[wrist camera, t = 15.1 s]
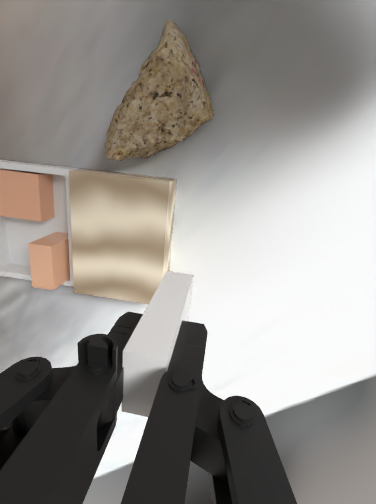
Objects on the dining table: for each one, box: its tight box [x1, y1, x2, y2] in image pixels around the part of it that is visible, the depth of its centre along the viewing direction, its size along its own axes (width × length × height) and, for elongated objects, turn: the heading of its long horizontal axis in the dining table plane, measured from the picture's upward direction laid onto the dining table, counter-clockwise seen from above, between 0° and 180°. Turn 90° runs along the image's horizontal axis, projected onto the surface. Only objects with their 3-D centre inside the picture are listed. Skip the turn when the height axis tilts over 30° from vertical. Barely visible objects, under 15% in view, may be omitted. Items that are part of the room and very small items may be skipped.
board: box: [69, 169, 177, 304], centre depth 36 cm, size 16×12×5 cm
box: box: [0, 160, 85, 287], centre depth 38 cm, size 16×13×4 cm
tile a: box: [0, 169, 55, 221], centre depth 36 cm, size 6×6×3 cm
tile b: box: [28, 232, 70, 290], centre depth 37 cm, size 6×6×3 cm
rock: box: [105, 20, 213, 161], centre depth 30 cm, size 11×12×10 cm
